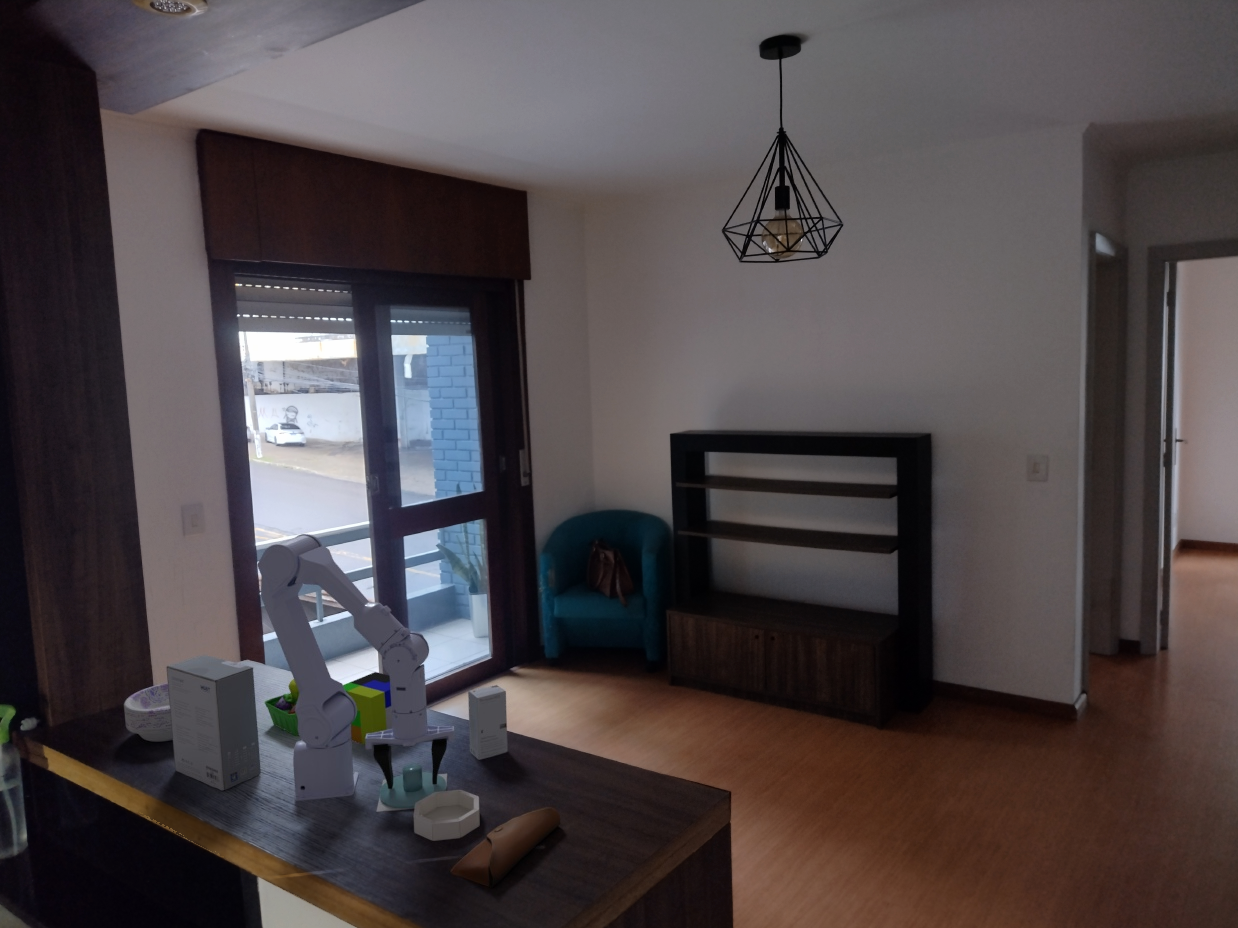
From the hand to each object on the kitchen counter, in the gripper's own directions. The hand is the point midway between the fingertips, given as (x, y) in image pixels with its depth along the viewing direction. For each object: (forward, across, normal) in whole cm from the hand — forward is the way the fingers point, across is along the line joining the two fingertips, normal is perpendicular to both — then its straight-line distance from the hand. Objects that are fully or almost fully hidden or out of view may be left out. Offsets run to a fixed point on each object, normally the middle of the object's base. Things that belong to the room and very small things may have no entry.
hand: (412, 783), depth 146 cm
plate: (+2, 0, 0) cm, 2 cm away
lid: (+1, 0, 0) cm, 1 cm away
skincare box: (+2, +13, +13) cm, 18 cm away
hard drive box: (+2, -36, +15) cm, 39 cm away
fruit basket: (+2, -25, +34) cm, 42 cm away
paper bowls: (+2, -50, +36) cm, 62 cm away
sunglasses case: (+2, +15, -20) cm, 25 cm away
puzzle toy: (+2, -9, +27) cm, 29 cm away
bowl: (+2, +6, -11) cm, 13 cm away
